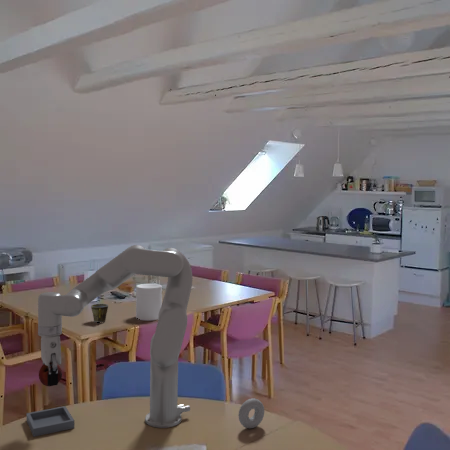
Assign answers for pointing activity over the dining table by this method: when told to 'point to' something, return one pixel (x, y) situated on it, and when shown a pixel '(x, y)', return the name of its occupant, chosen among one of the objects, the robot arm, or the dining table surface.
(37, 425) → the tray
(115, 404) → the dining table surface
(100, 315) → the ceramic cup
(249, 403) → the donut
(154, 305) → the canister
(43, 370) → the apple
